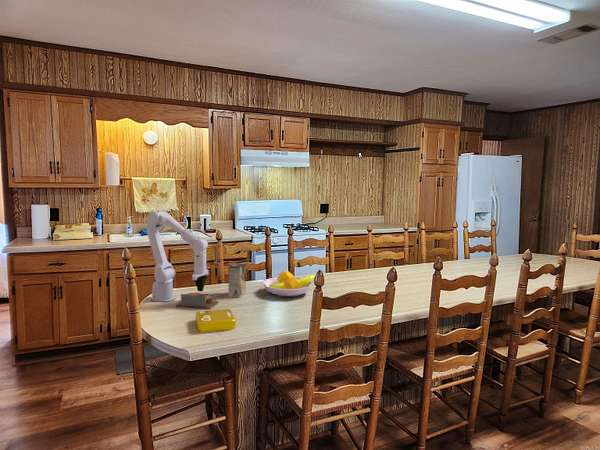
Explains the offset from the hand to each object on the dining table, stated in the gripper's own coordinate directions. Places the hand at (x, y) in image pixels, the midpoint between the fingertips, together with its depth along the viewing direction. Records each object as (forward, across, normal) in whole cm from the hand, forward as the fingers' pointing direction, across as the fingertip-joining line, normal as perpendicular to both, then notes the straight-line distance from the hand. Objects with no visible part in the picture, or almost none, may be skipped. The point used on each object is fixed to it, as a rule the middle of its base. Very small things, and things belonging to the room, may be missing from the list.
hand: (200, 290), depth 194 cm
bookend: (+6, -8, 0) cm, 10 cm away
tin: (+4, +4, 0) cm, 5 cm away
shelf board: (+6, -3, 0) cm, 7 cm away
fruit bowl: (+6, +27, -39) cm, 48 cm away
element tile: (+7, -25, -18) cm, 32 cm away
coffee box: (+6, +17, -13) cm, 22 cm away
